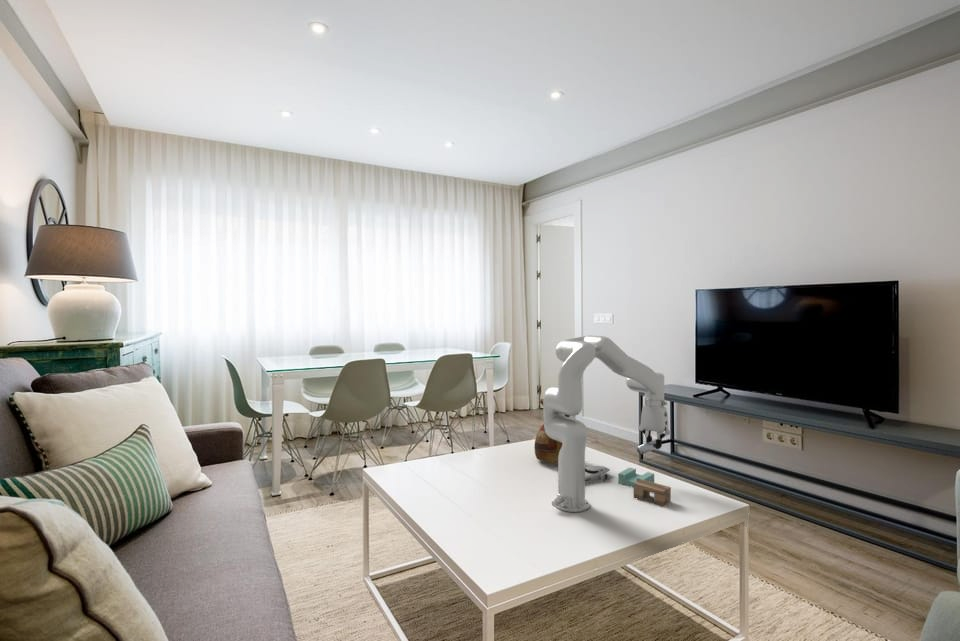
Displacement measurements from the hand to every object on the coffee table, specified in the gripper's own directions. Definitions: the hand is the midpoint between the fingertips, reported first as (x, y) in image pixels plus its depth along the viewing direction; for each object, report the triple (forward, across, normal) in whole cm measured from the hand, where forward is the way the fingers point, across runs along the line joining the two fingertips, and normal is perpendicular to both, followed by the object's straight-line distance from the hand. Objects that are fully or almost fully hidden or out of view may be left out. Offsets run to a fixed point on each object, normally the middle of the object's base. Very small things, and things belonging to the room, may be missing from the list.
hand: (653, 447), depth 193 cm
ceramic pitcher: (+15, +45, +6) cm, 48 cm away
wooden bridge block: (+15, -7, +17) cm, 24 cm away
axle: (0, 0, +4) cm, 4 cm away
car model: (+16, +22, +16) cm, 31 cm away
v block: (+15, +5, +5) cm, 17 cm away
